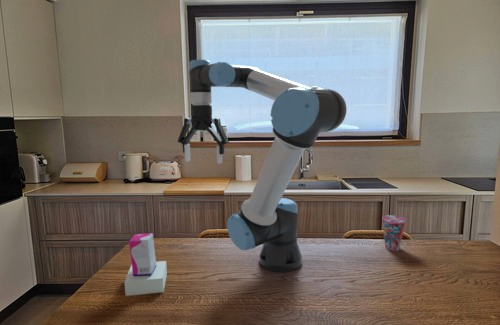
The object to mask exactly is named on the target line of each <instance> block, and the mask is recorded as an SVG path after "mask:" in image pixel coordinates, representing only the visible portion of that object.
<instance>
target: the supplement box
mask: <svg viewBox="0 0 500 325" xmlns="http://www.w3.org/2000/svg"><path fill="white" fill-rule="evenodd" d="M128 245H129V252H130V260H131V265H132V270H133V276H145V275H152V273H153V272H154V270H155V268H156V262H157V260H156V253H155V252H156V251H155V241H154V234H153V233H152V232H150V233H149V232H148V233H147V232H146V233H135V234H134V235H133V236H132V237H131V239H129V240H128Z"/></svg>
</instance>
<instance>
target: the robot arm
mask: <svg viewBox="0 0 500 325" xmlns="http://www.w3.org/2000/svg"><path fill="white" fill-rule="evenodd" d="M188 67H189V70H188V75H189V89H190V90H189V91H190V93H189V94H190V104H192V105H191V106H190V112H191V113H190V115H191V117H185V118H184V120H183V126H182V127H181V128H182V129H181V131H180V133H179V136H178V138H177V142H178V143H179V144H182V153H183V154H184V161H185V163H189V162H191V159H192V158H191V144H190V143H189V142H190V141H191V140H192V138H193V136H194V135H195V134H196V132H198V131H203V132H204V131H207V132H208V133H209V134H210V135H211V137H212V139H213V140H215V142H216V143H217V145H216V161H217V162H216V164H218V165H220V164H222V163H223V155H224V154H225V145H227V144H229V143H230V141H229V139H228V136H227V135H226V133H225V132H226V131H225V130H224V127H223V126H222V124H221V118H220V117H215V118H213V107H212V105H211V104H212V101H213V100H212V87H213V88H214V87H218V88H219V87H221V88H222V87H223V88H244V89H246V90H248V91H251V92H254V93H256V94H258V95H260V96H263V97H265V98H268V99H269V100H273V104H272V105H271V109H270V117H271V118H272V119H271V120H270V121H271V126H272V133H273V135H274V139H273V142H272V144H271V146H270V150H269V152H268V154H267V156H266V159H265V161H264V164H263V166H262V169H261V170H260V173H259V176H258V177H257V180H256V183H255V186H254V187H253V190H252V193H251V194H250V197H249V198H248V199H245V200H244V201H243V202H242V203H241V206H240V209H239V211H238V212H237V213H234V214H232V215H230V216H229V217H228V219H227V223H226V224H227V226H226V227H227V232H228V236H229V238H230V240H231V242H232V243H233V244H234V245H235V247H237V249H239V250H242V251H249V250H251V249H255V248H256V247H259V246H261V245H262V246H261V250H260V252H259V264H260V265H261V267H263V268H264V269H266V270H269V271H273V272H279V273H280V272H285V273H287V272H292V271H295V270H297V269H299V268H300V267H301V265H302V264H303V263H302V261H303V256H302V253H301V250H300V246H299V244H298V218H299V216H298V214H299V212H298V203H297V202H296V201H295V200H292V199H289V198H286V197H285V198H284V197H283V195H284V194H285V191H286V189H287V187H288V185H289V183H290V181H291V179H292V176H293V174H294V173H295V170H296V168H297V166H298V164H299V162H300V160H301V158H302V157H303V154H304V151H306V150H309V149H312V147H313V146H314V144H315V142H316V140H317V138H318V136H319V134H321V133H328V132H331V131H333V130H336V129H337V128H338V127H340V126H341V125H342V123H343V122H344V121H345V119H346V115H347V103H346V101H345V99H344V97H343V96H342V94H341V93H339V92H338V91H336V90H333V89H329V88H323V87H320V86H316V85H315V86H311V87H309V86H306V85H303V84H301V83H298V82H294V81H291V80H290V79H289V80H288V79H286V78H282V77H279V76H277V75H274V74H271V73H269V72H266V71H262V70H261V69H260V68H258V67H255V66H252V65H248V66H247V65H237V64H231V63H229V62H227V61H224V62H223V61H217V62H215V63H211V61H210V60H207V59H192V60H190V61H189V65H188ZM191 125H192V126H191ZM213 125H214V126H215V128H214V127H213ZM190 126H191V127H190ZM215 129H216V130H217V132H216V130H215Z"/></svg>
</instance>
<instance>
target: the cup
mask: <svg viewBox="0 0 500 325" xmlns="http://www.w3.org/2000/svg"><path fill="white" fill-rule="evenodd" d="M406 222H407V219H406V218H405V217H402V216H399V215H394V214H386V215H383V216H382V225H383V237H384V247H385V249H386V250H388V251H392V252H397V251H399V250H400V247H401V243H402V240H403V236H404V235H403V234H404V230H405V227H406V226H405V225H406Z"/></svg>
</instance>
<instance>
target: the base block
mask: <svg viewBox="0 0 500 325" xmlns="http://www.w3.org/2000/svg"><path fill="white" fill-rule="evenodd" d="M167 270H168V268H167V261H166V260H160V261H156V268H155V270H154V272H153V273H152V275H145V276H133V270H132V264H131V265H130V268H129V269H128V272H127V275H126V277H125V280H124V282H123V283H124V291H125V292H124V293H125V297H129V296H138V295H148V294H157V293H164V292H165V287H166V286H165V285H166V281H167V276H168V275H167V274H168V271H167Z"/></svg>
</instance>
